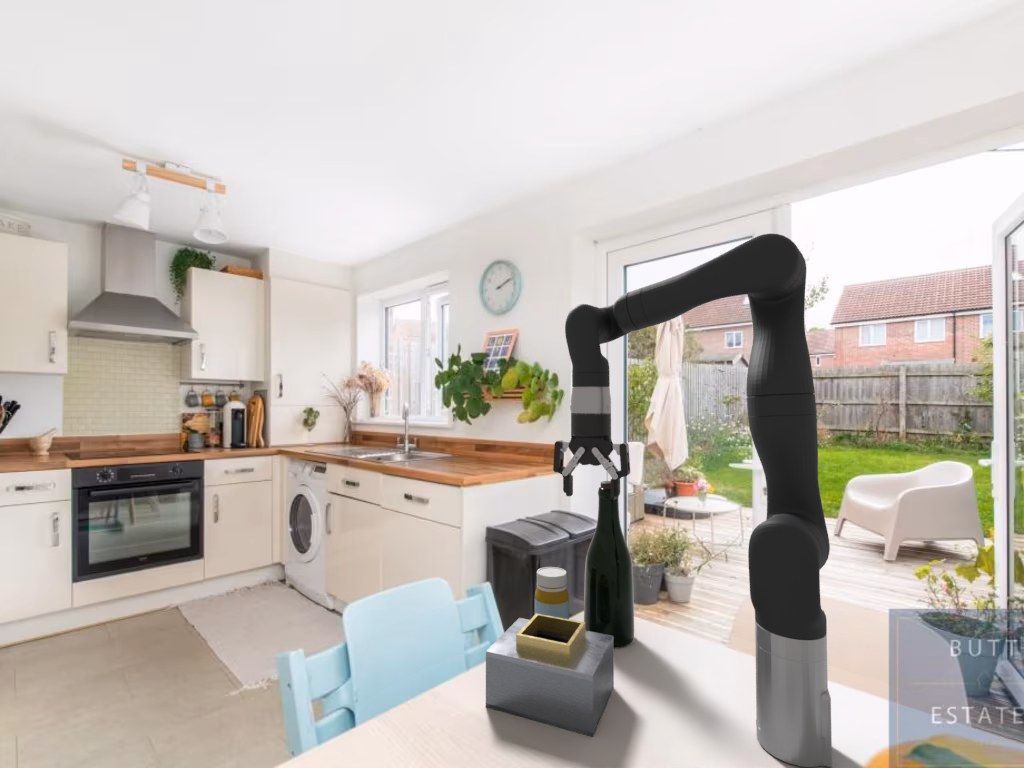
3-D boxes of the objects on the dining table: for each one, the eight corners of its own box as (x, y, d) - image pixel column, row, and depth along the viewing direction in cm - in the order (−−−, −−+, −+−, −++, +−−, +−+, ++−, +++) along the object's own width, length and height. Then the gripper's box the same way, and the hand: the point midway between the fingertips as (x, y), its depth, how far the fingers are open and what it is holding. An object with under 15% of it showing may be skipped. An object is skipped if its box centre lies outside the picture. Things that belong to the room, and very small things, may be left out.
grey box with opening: (613, 688, 88) (613, 621, 88) (593, 736, 75) (592, 658, 76) (519, 665, 95) (519, 604, 96) (485, 706, 82) (485, 635, 83)
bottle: (568, 638, 106) (568, 566, 107) (569, 655, 99) (568, 578, 100) (535, 636, 107) (535, 565, 107) (533, 653, 100) (533, 577, 101)
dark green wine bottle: (584, 648, 102) (584, 485, 103) (583, 625, 112) (583, 477, 113) (637, 651, 101) (636, 486, 102) (631, 628, 111) (630, 478, 112)
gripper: (632, 411, 96) (633, 496, 95) (561, 410, 101) (561, 491, 101) (624, 412, 89) (625, 504, 88) (548, 411, 95) (548, 497, 94)
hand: (591, 497), depth 95 cm, fingers open, 8 cm apart
